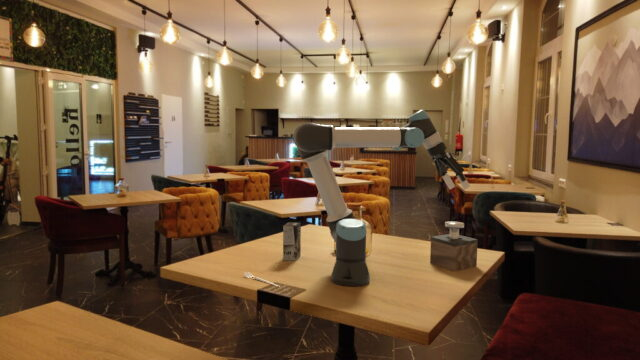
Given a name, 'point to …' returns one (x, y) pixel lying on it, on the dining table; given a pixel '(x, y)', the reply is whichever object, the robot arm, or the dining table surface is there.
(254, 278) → the fork
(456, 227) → the plunger
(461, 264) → the socket block
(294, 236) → the coffee box
